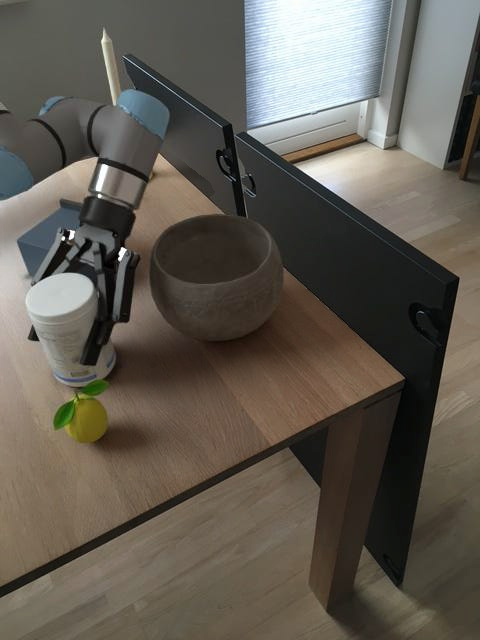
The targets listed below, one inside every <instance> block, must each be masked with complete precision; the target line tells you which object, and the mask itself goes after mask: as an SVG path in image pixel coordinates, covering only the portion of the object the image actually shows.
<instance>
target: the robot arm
mask: <svg viewBox="0 0 480 640" xmlns="http://www.w3.org/2000/svg"><path fill="white" fill-rule="evenodd" d="M170 116H171V113H170V111H169V109H168V107H167V106H166V105H165V104H164V102H162V101H160V100H159V99H157V98H156V97H154V96H152V95H150V94H148V93H146V92H143V91H140V90H137V89H131V88H130V89H124V90H121V94H120V96H119V99H118V100H117V101H116V105H113V104H106V103H102V102H97V101H93V100H88V99H83V98H82V97H81V98H79V97H78V96H75V97H74V96H71V95H70V96H61V95H57V96H53V97H50V98H49V99H47V100H46V102H45V103H44V105H43V106H42V107H41V108H40V110H39V114H38V116H37V117H34V118H31V119H29V120H27V121H25V122H22V123H21V122H20V121H19V120H18V119H17V118H16V117H15V116H14V115H13V114H12V112H11V111H10V110H8V108H7V107H6V106H5V104H4V103H2V101H0V202H1V201H2V202H3V201H7V200H9V199H11V198H13V197H16V196H18V195H20V194H22V193H25V192H28V191H29V190H31V189H32V188H33V187H35V186H36V185H38V184H40V183H42V182H43V181H45V180H46V179H48V178H50V177H51V176H53V175H54V174H57V173H58V172H61V171H62V170H64V169H66V168H68V167H69V166H72V165H73V164H75V163H77V162H78V161H80V160H82V159H84V158H86V157H94V158H97V160H96V165H95V167H94V170H93V171H92V172H93V173H92V175H91V178H90V181H89V184H88V186H87V192H88V193H89V195H87V196H84V198H83V202H82V203H83V204H82V207H81V210H80V213H79V216H78V219H79V220H80V225H79V227H78V228H77V229H76V230H75V231H71V230H68V229H66V228H63V227H59V228H58V230H57V234H56V238H55V242H54V243H53V245H52V247H51V249H50V250H49V252H48V254H47V255H46V257H45V259H44V261H43V262H42V264H41V266H40V268H39V269H38V271H37V273H36V274H35V276H34V277H33V278H32V280H31V281H30V286H31V288H32V287H33V286H34V285H36V284H37V283H38V282H40V281H41V280H43V279H45V278H47V277H50V276H53V275H57V274H62V273H77V272H78V271H79V270H80V269H81V268H82V267H85V266H86V265H87V264H88V265H90V266H93V267H95V272H96V274H97V277H98V281H97V286H98V287H97V289H98V290H97V292H98V297H99V305H100V317H97V319H94V322H93V325H92V328H91V330H90V333H89V336H88V339H87V342H86V345H85V348H84V351H83V354H82V356H81V359H80V362H79V364H81V365H84V366H96V364H97V361H98V358H99V355H100V352H101V349H102V346H103V345H107V343H108V341H109V338H110V337H111V336H112V333H113V330H114V327H115V326H116V325H117V324H128V323H129V322H130V320H131V313H132V312H131V311H132V304H133V296H134V288H135V280H136V272H137V269H138V266H139V264H140V263H141V260H142V255H141V254H140V253H139V252H135V251H134V250H133V251H132V250H130V249H126V240H127V239H128V238H130V237H131V235H132V231H133V229H134V226H135V223H136V220H137V215H136V213H135V211H138V210H139V209H140V208H141V205H142V201H143V199H144V195H145V193H146V190H147V188H148V184H149V181H150V180H149V177H150V174H151V171H152V172H153V168H154V166H155V163H156V161H157V158H158V156H159V153H160V151H161V149H162V145H163V144H164V142H165V136H166V132H167V128H168V126H169V122H170V118H171V117H170ZM73 244H75V246H74V247H73V248H72V245H73ZM71 248H72V249H71ZM118 258H119V261H118V262H119V263H118V267H117V263H116V260H117V259H118ZM27 340H29V341H30V342H39V343H40V340H39V338H38V335H37V333H36V331H35V328H34V326H33V324H31V327H30V330H29V333H28V336H27Z"/></svg>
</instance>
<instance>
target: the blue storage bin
mask: <svg viewBox="0 0 480 640" xmlns="http://www.w3.org/2000/svg"><path fill="white" fill-rule="evenodd" d="M58 202H59V205H60V207H59V208H58V209H56V210H55V211H53V212H52V213H51V214H50V215H48V216H47V217H46V218H43V220H41V221H40V222H38V223H37V224H36V225H34V226H33V227H32V228H30V229H29V230H27V231H26V232H25V233H24V234H22V235H21V236H19V237H18V238H16V239H15V242H16V244H17V246H18V249H19V252H20V255H21V257H22V261H23V262H24V265H25V268H26V270H27V273H28V276H29V277H33V278H34V276H35V274H36V273H37V271H38V269H39V268H40V266H41V264H42V262H43V261H44V259H45V257H46V255H47V254H48V252H49V250H50V249H51V247H52V245H53V243H54V242H55V238H56V234H57V230H58V228H59V227H63V228H66V229H68V230H71V231H75V230H76V229H77V228H78V227H79V225H80V220H79V219H78V216H79V213H80V210H81V207H82V204H83V202H79V201H74V200H70V199H67V198H62V197H61V198H60V199H59V200H58ZM74 246H75V244H73V245H72V248H73V247H74ZM72 248H71V249H72ZM119 262H120V261H119V258H118V259H117V260H116V264H117V263H119ZM77 274H81V275H84V276H86V277H88V278H89V279H90V280H91V281H92V282H93V284H94V285H95V284H96V283H98V277H97V274H96V272H95V267H93V266H90V265H88V264H87V265H86V266H85V267H82V268H81V269H80V270H79V271H78V272H77Z"/></svg>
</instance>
